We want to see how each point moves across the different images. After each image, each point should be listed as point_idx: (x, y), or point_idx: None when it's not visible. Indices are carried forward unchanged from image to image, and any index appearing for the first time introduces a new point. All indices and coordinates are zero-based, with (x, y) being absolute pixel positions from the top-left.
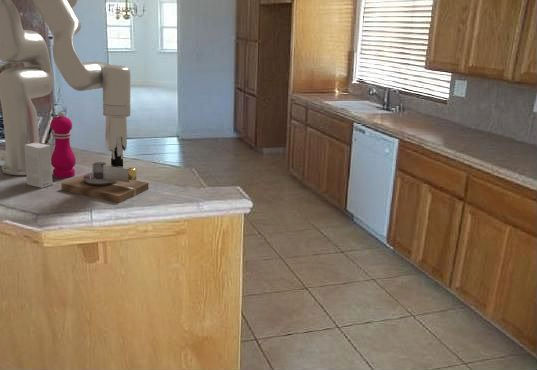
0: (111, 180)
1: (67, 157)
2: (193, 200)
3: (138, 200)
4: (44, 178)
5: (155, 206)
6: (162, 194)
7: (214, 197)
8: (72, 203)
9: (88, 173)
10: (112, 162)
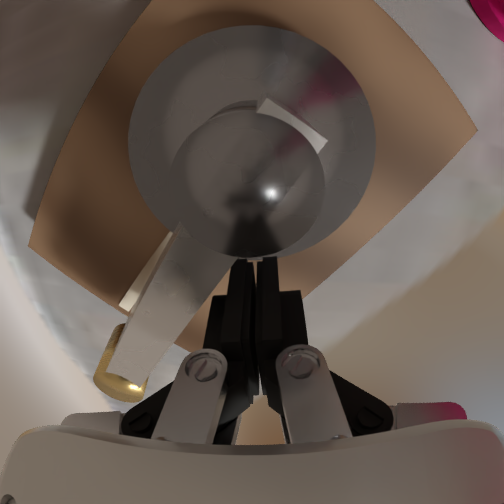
0: (171, 227)
1: None
2: (125, 406)
3: (84, 296)
4: None
5: (51, 329)
6: (162, 368)
7: None
8: (28, 34)
9: (447, 88)
10: (223, 321)
